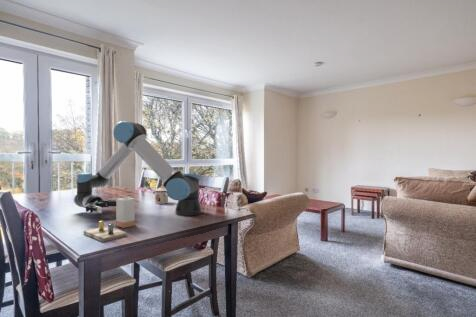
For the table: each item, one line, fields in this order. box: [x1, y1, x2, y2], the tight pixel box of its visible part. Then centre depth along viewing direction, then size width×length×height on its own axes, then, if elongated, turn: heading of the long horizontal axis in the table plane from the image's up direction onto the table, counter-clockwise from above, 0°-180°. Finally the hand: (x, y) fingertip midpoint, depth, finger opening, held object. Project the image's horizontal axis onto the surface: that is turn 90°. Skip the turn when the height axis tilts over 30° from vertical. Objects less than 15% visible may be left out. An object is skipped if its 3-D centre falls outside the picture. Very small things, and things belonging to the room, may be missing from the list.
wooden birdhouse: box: [154, 185, 169, 205], centre depth 188 cm, size 12×9×12 cm
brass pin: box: [98, 220, 105, 231], centre depth 119 cm, size 2×2×4 cm
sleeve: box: [115, 196, 136, 229], centre depth 132 cm, size 6×6×13 cm
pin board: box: [83, 225, 127, 243], centre depth 117 cm, size 16×10×2 cm, turn 55°
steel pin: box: [107, 222, 114, 234], centre depth 114 cm, size 2×2×4 cm
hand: (114, 208), depth 137 cm, fingers open, 13 cm apart
